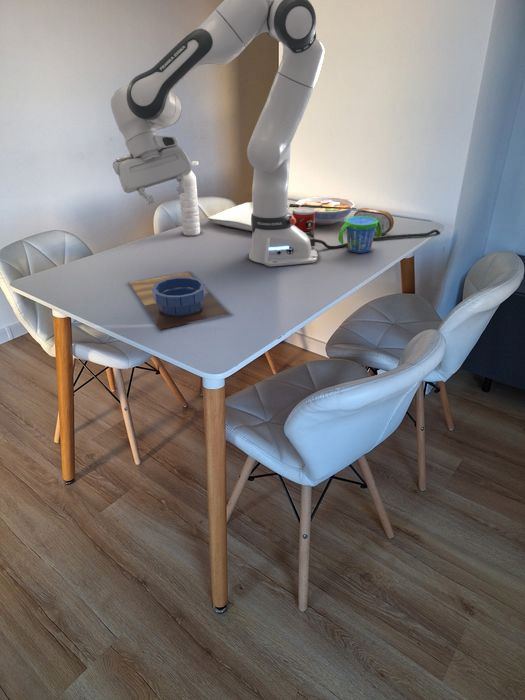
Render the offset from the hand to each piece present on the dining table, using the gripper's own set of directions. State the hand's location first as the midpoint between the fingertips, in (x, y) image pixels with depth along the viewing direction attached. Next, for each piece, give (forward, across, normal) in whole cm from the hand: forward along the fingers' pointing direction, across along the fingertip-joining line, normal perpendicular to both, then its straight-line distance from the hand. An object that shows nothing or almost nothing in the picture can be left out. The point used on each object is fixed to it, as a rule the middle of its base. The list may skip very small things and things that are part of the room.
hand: (166, 198), depth 141 cm
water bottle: (+5, +21, +46) cm, 51 cm away
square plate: (+9, +46, +46) cm, 66 cm away
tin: (+31, +74, +17) cm, 82 cm away
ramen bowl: (+20, +68, +34) cm, 78 cm away
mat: (+31, -11, -9) cm, 34 cm away
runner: (+23, -9, +6) cm, 25 cm away
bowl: (+29, -11, -8) cm, 32 cm away
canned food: (+24, +48, +21) cm, 58 cm away
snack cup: (+35, +57, +5) cm, 67 cm away
